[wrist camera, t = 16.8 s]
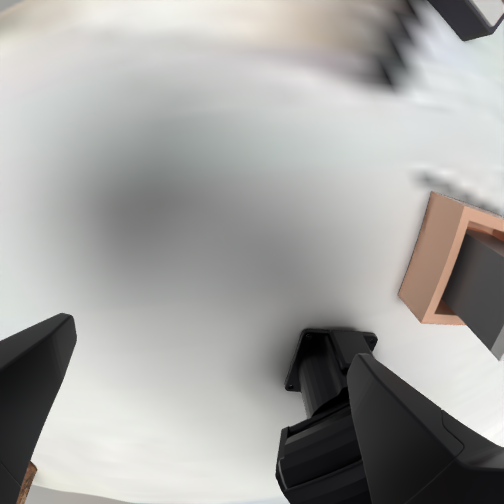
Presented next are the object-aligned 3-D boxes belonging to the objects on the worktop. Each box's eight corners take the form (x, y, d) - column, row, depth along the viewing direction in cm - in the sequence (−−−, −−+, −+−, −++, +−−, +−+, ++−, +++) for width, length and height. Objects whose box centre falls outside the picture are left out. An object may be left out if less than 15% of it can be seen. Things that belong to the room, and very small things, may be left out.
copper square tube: (467, 302, 24) (491, 325, 20) (397, 295, 23) (421, 323, 19) (499, 215, 21) (529, 230, 17) (431, 191, 20) (464, 205, 16)
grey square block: (465, 285, 22) (537, 353, 13) (423, 281, 22) (498, 361, 13) (484, 230, 20) (570, 285, 11) (443, 220, 20) (538, 280, 11)
